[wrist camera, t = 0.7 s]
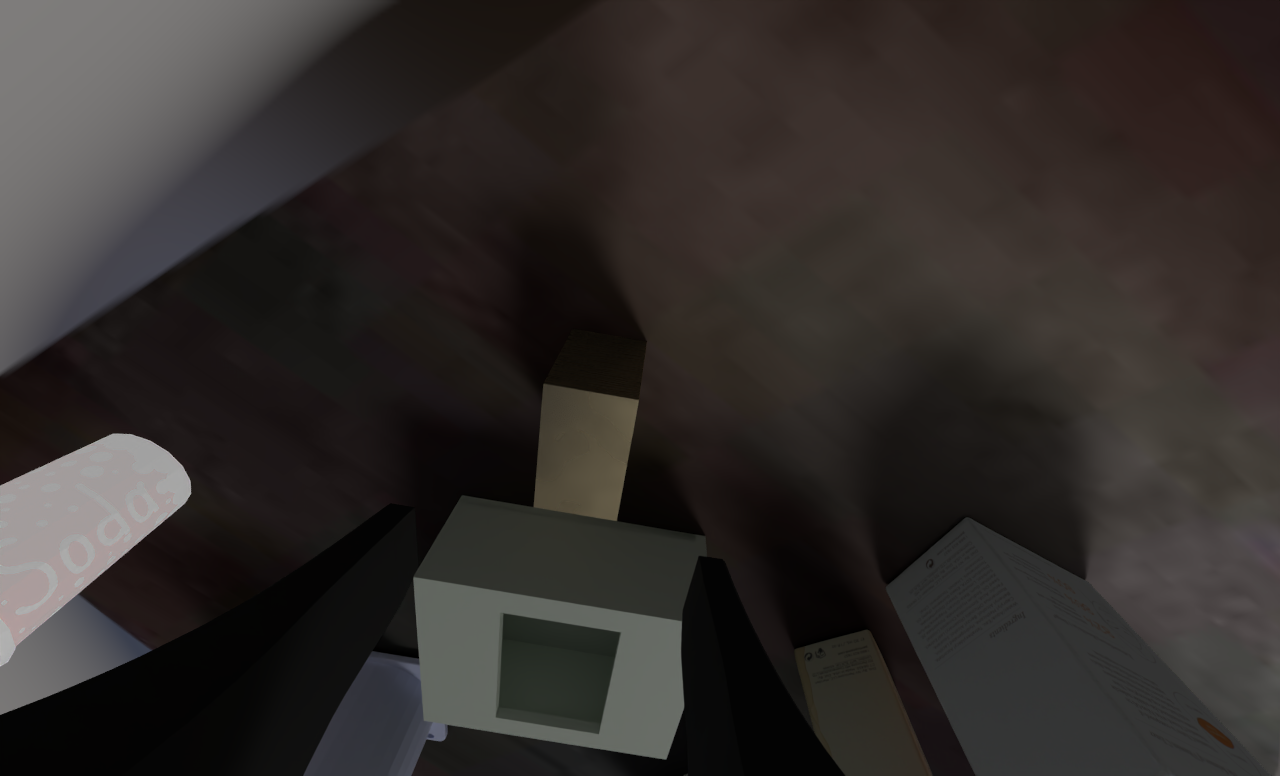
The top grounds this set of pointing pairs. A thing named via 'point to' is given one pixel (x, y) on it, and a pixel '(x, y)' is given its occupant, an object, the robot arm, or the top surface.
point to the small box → (1049, 670)
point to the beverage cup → (78, 524)
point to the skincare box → (858, 708)
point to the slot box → (554, 626)
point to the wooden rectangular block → (588, 424)
